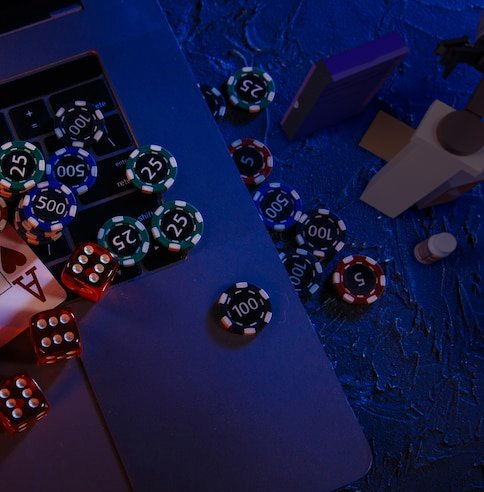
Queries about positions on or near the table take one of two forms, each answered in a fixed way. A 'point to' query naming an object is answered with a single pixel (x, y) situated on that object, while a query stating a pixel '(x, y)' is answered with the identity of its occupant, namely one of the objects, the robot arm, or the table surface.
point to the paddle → (464, 126)
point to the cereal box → (343, 85)
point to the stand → (418, 167)
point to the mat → (386, 136)
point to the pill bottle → (435, 248)
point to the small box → (450, 189)
